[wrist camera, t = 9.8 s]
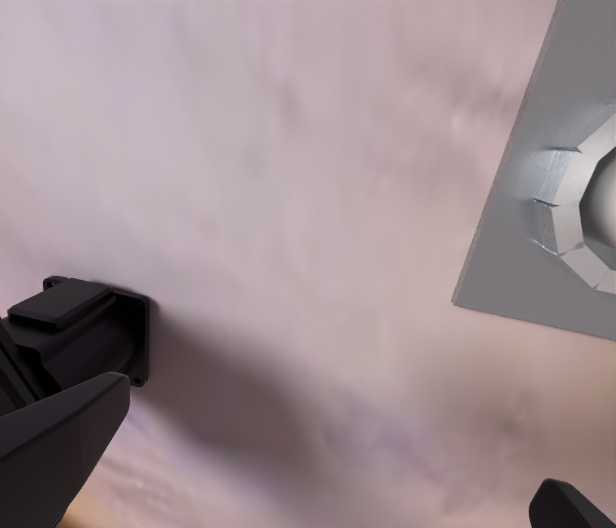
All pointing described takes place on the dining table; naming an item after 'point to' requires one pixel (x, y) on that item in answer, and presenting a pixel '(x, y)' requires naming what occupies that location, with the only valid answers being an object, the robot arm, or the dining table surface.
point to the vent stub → (601, 202)
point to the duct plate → (552, 187)
